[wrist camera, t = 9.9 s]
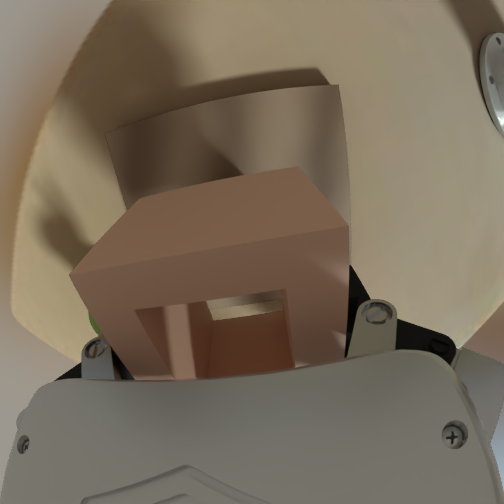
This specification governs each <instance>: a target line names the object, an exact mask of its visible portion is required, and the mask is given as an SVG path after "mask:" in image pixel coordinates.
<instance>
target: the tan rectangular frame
mask: <svg viewBox="0 0 504 504" xmlns="http://www.w3.org/2000/svg"><path fill="white" fill-rule="evenodd" d="M69 276H70V278H71V280H72V282H73V284H74V286H75V288H76V290H77V291H78V293H79V295H80V297H81V299H82V300H83V302H84V304H85V306H86V307H87V309H88V311H89V313H90V314H91V316H92V318H93V319H94V321H95V322H96V324H97V326H98V327H99V329H100V330H101V332H102V333H103V335H104V337H105V338H106V340H107V341H108V343H109V344H110V346H111V347H112V348H113V350H114V351H115V353H116V354H117V356H118V357H119V358H120V360H121V361H122V363H123V364H124V365H125V367H126V368H127V369H128V371H129V372H130V373H131V375H132V376H133V377H134V379H135V380H172V379H195V378H210V377H223V376H233V375H243V374H252V373H260V372H268V371H275V370H282V369H288V368H294V367H300V366H306V365H312V364H317V363H323V362H328V361H333V360H338V359H343V358H344V354H345V343H346V330H347V315H348V294H349V225H348V224H347V223H346V221H345V220H344V219H343V218H342V216H341V215H340V214H339V213H338V212H337V210H336V209H335V208H334V207H333V206H332V204H331V203H330V202H329V201H328V200H327V199H326V197H325V196H324V195H323V194H322V193H321V192H320V191H319V189H318V188H317V187H316V186H315V185H314V184H313V183H312V181H311V180H310V179H309V178H308V177H307V176H306V175H305V174H304V173H303V171H302V170H301V169H300V168H299V167H298V166H297V167H290V168H283V169H277V170H270V171H264V172H258V173H253V174H247V175H242V176H236V177H231V178H226V179H221V180H216V181H211V182H206V183H202V184H197V185H193V186H188V187H184V188H179V189H175V190H171V191H167V192H163V193H159V194H155V195H151V196H147V197H143V198H140V199H139V200H138V201H137V202H136V203H135V204H134V205H133V206H132V207H130V208H129V209H128V210H127V211H126V212H125V213H124V214H123V215H122V216H121V218H120V219H119V220H118V221H117V222H116V223H115V224H114V225H113V226H112V227H111V228H110V229H109V230H108V231H107V232H106V233H105V234H104V235H103V236H102V237H101V239H100V240H99V241H98V242H97V243H96V244H95V245H94V246H93V247H92V248H91V250H90V251H89V252H88V253H87V254H86V255H85V256H84V258H83V259H82V260H81V261H80V262H79V263H78V265H77V266H76V267H75V268H74V269H73V271H72V272H71V273H70V274H69ZM274 290H281V297H282V304H283V311H277V312H271V313H265V314H259V315H252V316H245V317H238V318H231V319H223V320H216V321H213V319H212V316H211V313H210V311H209V308H208V305H207V302H206V301H208V300H215V299H222V298H229V297H236V296H242V295H249V294H255V293H262V292H268V291H274Z"/></svg>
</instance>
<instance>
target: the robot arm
mask: <svg viewBox="0 0 504 504" xmlns="http://www.w3.org/2000/svg"><path fill="white" fill-rule="evenodd" d="M480 76H481V84H482V88H483V93H484V97H485V100H486V104H487V107H488V110H489V112H490V115H491V117H492V119H493V121H494V124H495V126H496V127H497V129H498V130H499V132H500V134H501V135H502V136H503V137H504V33H492V34H489V35H488V36H487V37H486V38H485V39H484V41H483V43H482V46H481V50H480ZM503 402H504V364H503V363H501V362H500V361H497V360H495V359H492V358H490V357H487V356H484V355H482V354H479V353H476V352H474V351H471V350H469V349H466V348H464V347H462V349H461V350H459V349H457V348H456V346H455V344H454V342H453V340H452V339H450V338H449V337H448V336H446V335H444V334H441V333H438V332H435V331H432V330H429V329H426V328H423V327H420V326H417V325H414V324H411V323H408V322H406V321H403V320H400V319H397V311H396V309H395V307H394V306H393V305H392V304H391V303H389V302H387V301H385V300H380V299H372V300H371V299H370V297H369V295H368V293H367V292H366V290H365V288H364V286H363V285H362V283H361V281H360V279H359V278H358V276H357V274H356V273H355V271H354V269H353V268H352V266H351V265H349V294H348V315H347V330H346V343H345V354H344V358H343V359H338V360H333V361H328V362H323V363H317V364H312V365H306V366H300V367H294V368H288V369H282V370H275V371H268V372H260V373H252V374H243V375H233V376H223V377H210V378H195V379H172V380H135V379H134V377H133V376H132V375H131V373H130V372H129V371H128V369H127V368H126V367H125V365H124V364H123V363H122V361H121V360H120V358H119V357H118V356H117V354H116V353H115V351H114V350H113V348H112V347H111V346H110V344H109V343H108V341H107V340H106V338H105V337H104V336H99V337H96V338H94V339H92V340H90V341H89V342H88V343H87V344H86V345H85V346H84V348H83V350H82V358H81V363H79V364H78V365H76V366H75V367H73V368H72V369H70V370H69V371H68V372H66V373H65V374H63V375H62V376H60V377H59V378H57V379H56V380H55V381H53V382H51V383H48V384H46V385H44V386H42V387H40V388H39V389H38V390H37V391H36V393H35V394H34V396H33V398H32V399H31V401H30V403H29V405H28V407H27V408H26V409H24V410H23V411H22V412H21V413H20V414H19V416H18V418H17V422H16V423H17V428H18V431H17V434H16V436H15V440H14V443H13V446H12V449H11V452H10V456H9V459H8V463H7V467H6V471H5V476H4V481H3V486H2V492H1V498H0V504H504V492H503V487H502V482H501V478H500V474H499V470H498V467H497V463H496V459H495V456H494V453H493V450H492V447H491V444H490V443H491V440H492V437H493V434H494V431H495V428H496V425H497V422H498V419H499V416H500V412H501V409H502V405H503Z"/></svg>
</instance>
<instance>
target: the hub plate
mask: <svg viewBox="0 0 504 504" xmlns="http://www.w3.org/2000/svg"><path fill="white" fill-rule="evenodd" d="M105 135H106V139H107V143H108V147H109V151H110V154H111V158H112V161H113V165H114V168H115V172H116V175H117V179H118V182H119V185H120V188H121V191H122V195H123V198H124V201H125V204H126V207H127V210H128V209H129V208H130V207H132V206H133V205H134V204H135V203H136V202H137V201H138V200H139V199H140V198H143V197H147V196H151V195H155V194H159V193H163V192H167V191H171V190H175V189H179V188H184V187H188V186H193V185H197V184H202V183H206V182H211V181H216V180H221V179H226V178H231V177H236V176H242V175H247V174H253V173H258V172H264V171H270V170H277V169H283V168H290V167H297V166H298V167H299V168H300V169H301V170H302V171H303V173H304V174H305V175H306V176H307V177H308V178H309V179H310V180H311V181H312V183H313V184H314V185H315V186H316V187H317V188H318V189H319V191H320V192H321V193H322V194H323V195H324V196H325V197H326V199H327V200H328V201H329V202H330V203H331V204H332V206H333V207H334V208H335V209H336V210H337V212H338V213H339V214H340V215H341V216H342V218H343V219H344V220H345V221H346V223H347V224H348V225H349V265H351V204H350V184H349V169H348V157H347V146H346V136H345V127H344V119H343V111H342V104H341V97H340V90H339V85H319V86H305V87H294V88H285V89H277V90H269V91H262V92H255V93H249V94H243V95H238V96H232V97H227V98H222V99H218V100H213V101H209V102H204V103H200V104H196V105H192V106H188V107H184V108H181V109H177V110H173V111H170V112H166V113H163V114H160V115H156V116H153V117H150V118H147V119H144V120H141V121H138V122H135V123H132V124H130V125H127V126H124V127H121V128H119V129H116V130H113V131H111V132H108V133H106V134H105ZM277 299H282V297H281V290H274V291H268V292H262V293H255V294H249V295H242V296H236V297H229V298H222V299H215V300H208V301H206V302H207V305H208V308H209V309H217V308H224V307H231V306H238V305H245V304H252V303H258V302H265V301H271V300H277Z"/></svg>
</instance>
